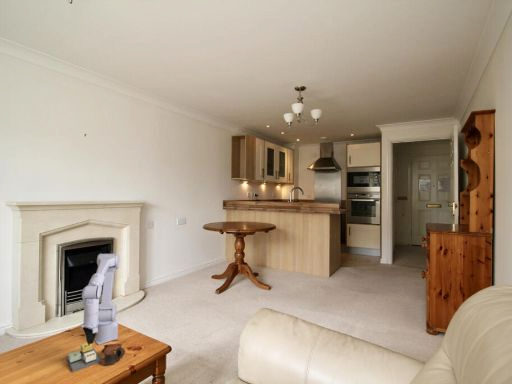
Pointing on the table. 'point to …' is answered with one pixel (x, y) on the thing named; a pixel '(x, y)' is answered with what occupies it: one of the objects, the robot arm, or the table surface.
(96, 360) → the slate board
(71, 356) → the tile one sage
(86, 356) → the tile three ivory
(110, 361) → the pottery mug
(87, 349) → the tile two mustard
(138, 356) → the table surface
